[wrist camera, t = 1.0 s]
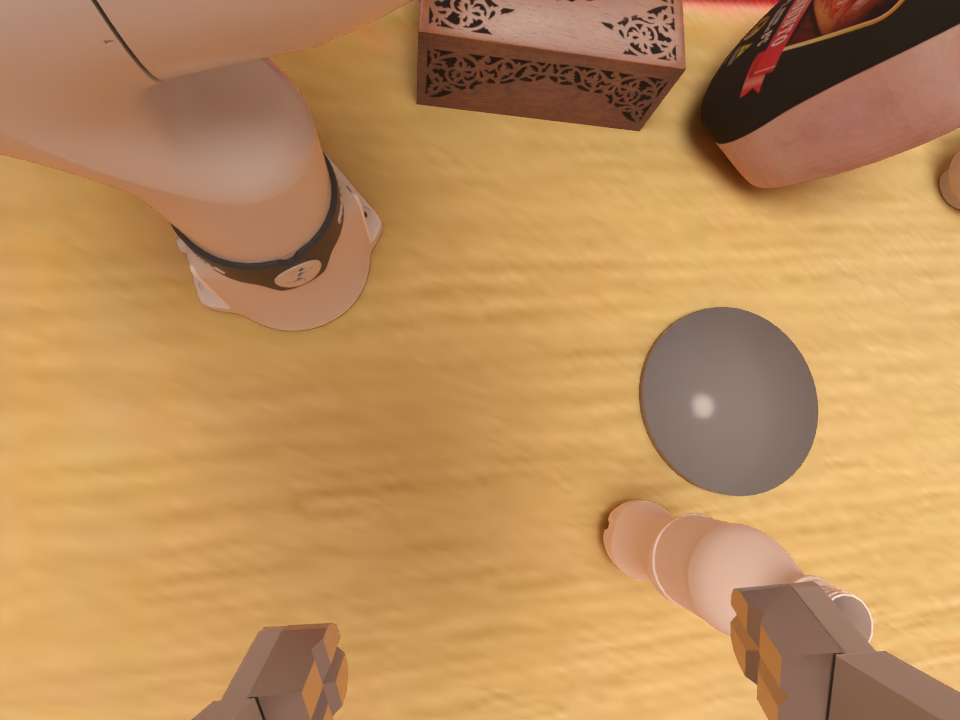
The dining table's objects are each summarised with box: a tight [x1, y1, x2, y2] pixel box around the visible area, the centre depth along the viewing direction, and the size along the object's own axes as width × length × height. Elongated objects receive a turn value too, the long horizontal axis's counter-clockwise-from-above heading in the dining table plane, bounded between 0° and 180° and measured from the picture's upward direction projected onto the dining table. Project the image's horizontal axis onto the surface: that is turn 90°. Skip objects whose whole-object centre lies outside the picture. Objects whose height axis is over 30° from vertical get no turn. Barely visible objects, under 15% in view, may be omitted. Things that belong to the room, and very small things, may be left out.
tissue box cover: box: [417, 0, 686, 131], centre depth 52 cm, size 26×14×10 cm, turn 89°
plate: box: [639, 307, 818, 496], centre depth 53 cm, size 20×20×1 cm
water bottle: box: [603, 500, 873, 643], centre depth 37 cm, size 7×7×25 cm
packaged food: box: [701, 0, 960, 188], centre depth 45 cm, size 22×20×30 cm
